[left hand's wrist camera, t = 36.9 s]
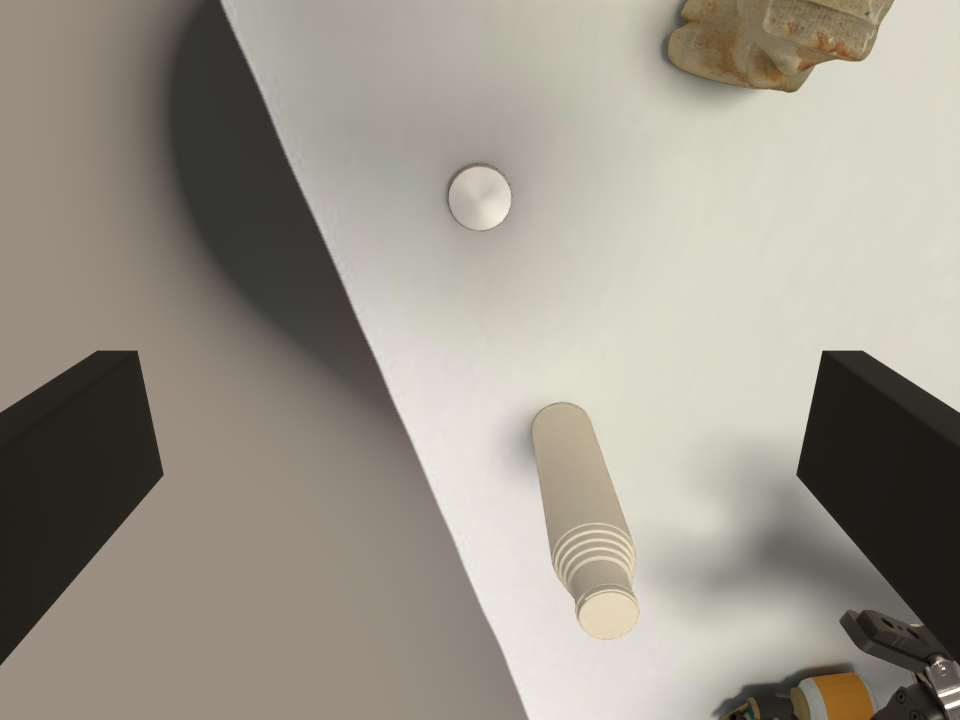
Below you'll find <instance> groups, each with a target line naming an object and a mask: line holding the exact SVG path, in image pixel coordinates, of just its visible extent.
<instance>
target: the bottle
mask: <svg viewBox="0 0 960 720" xmlns="http://www.w3.org/2000/svg"><path fill="white" fill-rule="evenodd" d="M532 438H533V444H534V451H535V457H536V463H537V470H538V476H539V482H540V489H541V495H542V501H543V508H544V514H545V520H546V527H547V533H548V539H549V546H550V552H551V558H552V565H553V568H554V570H555V572H556V575H557V577H558V579H559V580H560V582H561V583H562V584H563V585H564V587H565V588H566V589H567V591H568V592H569V593H570V594H571V596H572V597H573V598H574V599H575V604H576V608H575V613H576V617H577V620H578V622H579V623H580V626H581V627H582V629H583V630H584V631H585V632H586V633H587V634H589V635H590V636H592V637H595V638H598V639H614V638H618V637H621V636H623V635H625V634H627V633H628V632H629V631H630V630H632V629H633V627H634V626H635V624H636V622H637V620H638V617H639V605H638V603H637V599H636V596H635V595H634V593H633V592H632V589H631V586H632V580H633V575H634V570H635V565H636V555H635V547H634V544H633V541H632V538H631V535H630V532H629V530H628V527H627V524H626V521H625V518H624V515H623V512H622V510H621V507H620V504H619V501H618V498H617V495H616V493H615V490H614V487H613V484H612V481H611V478H610V475H609V473H608V470H607V467H606V464H605V461H604V458H603V455H602V453H601V450H600V447H599V444H598V441H597V438H596V435H595V433H594V430H593V427H592V424H591V421H590V419H589V417H588V415H587V414H586V413H585V412H584V411H583V410H582V409H581V408H579V407H577V406H575V405H573V404H568V403H558V404H553V405H550V406H548V407H546V408H545V409H543V410H542V411H541V412H540V413H539V414H538V415H537V416H536V418H535V420H534V422H533V425H532Z"/></svg>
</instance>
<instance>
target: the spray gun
mask: <svg viewBox="0 0 960 720" xmlns="http://www.w3.org/2000/svg"><path fill="white" fill-rule="evenodd" d="M750 706H752V708H750ZM748 707H749V708H748ZM745 709H747V712H746V711H745ZM875 713H877V703H876V699H875V697H874V694H873V691H872V689H871V687H870V685H869V684H868V682H867V681H866V680H865V679H864V678H862V677H861V676H860V675H858V674H857V673H855V672H848V673H840V674H833V675H825V676H817V677H809V678H806V679H804V680H802V681H800V683H799V685H798V687H794V688H791V690H790V696H789V698H786V697H778V698H758V699H754V698H753V697H752V698H748V702H747V703H745V704H744V705H742V706H740V707H738V708H737V709H735V710H733V711H732V712H730V713H728V714H727V715H725V716H723V717H722V718H720V719H719V720H728V719H729V720H753V718H758V719H761V720H869V719H870V718H871V717H872V716H873V715H874V714H875ZM795 715H796V716H795Z"/></svg>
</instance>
